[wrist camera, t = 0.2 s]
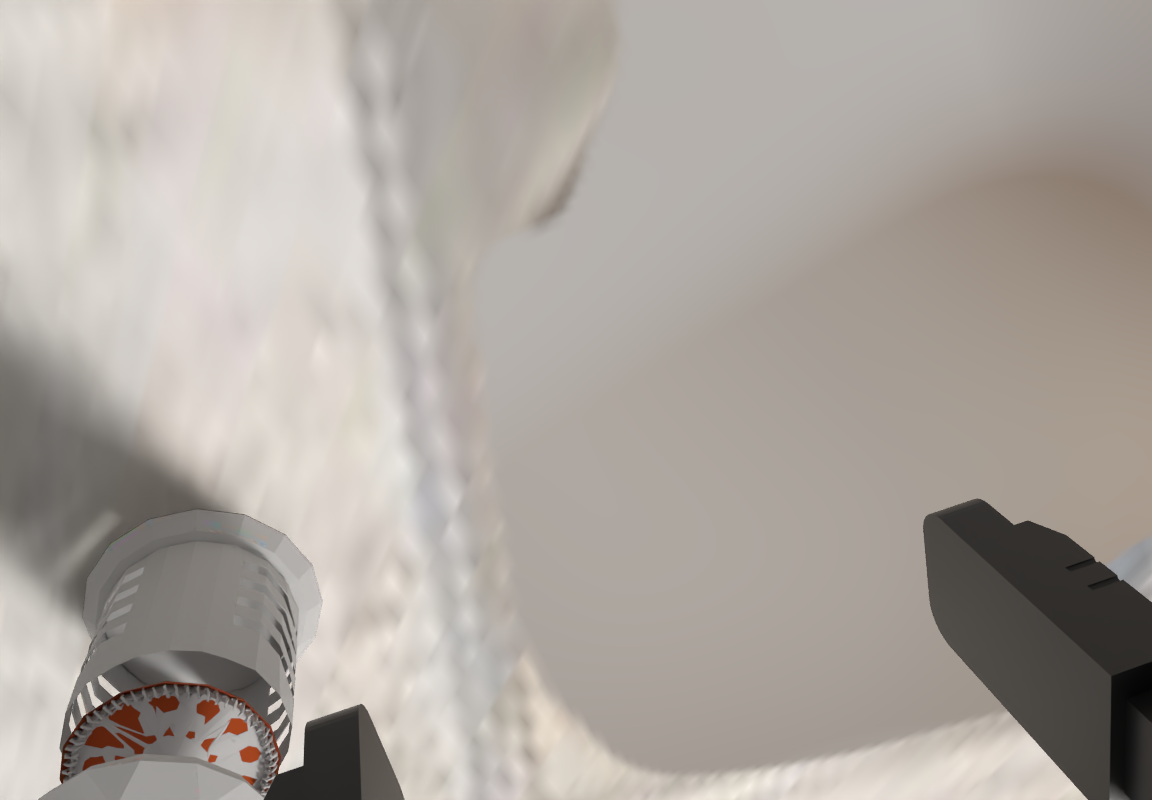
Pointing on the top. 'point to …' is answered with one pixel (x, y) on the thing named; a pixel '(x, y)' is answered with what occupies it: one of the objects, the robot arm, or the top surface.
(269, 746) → the french press
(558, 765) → the top surface
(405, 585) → the top surface
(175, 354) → the top surface
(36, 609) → the top surface
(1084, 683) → the robot arm
